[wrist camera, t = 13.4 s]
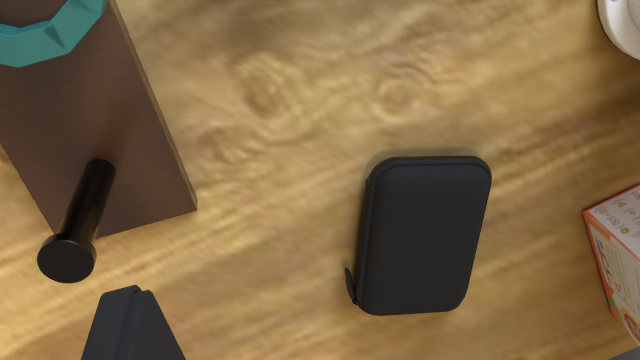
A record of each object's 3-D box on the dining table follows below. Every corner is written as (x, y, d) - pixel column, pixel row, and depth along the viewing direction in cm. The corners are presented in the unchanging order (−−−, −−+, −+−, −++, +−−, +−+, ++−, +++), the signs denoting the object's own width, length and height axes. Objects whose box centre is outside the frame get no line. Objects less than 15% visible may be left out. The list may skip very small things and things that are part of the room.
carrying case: (351, 149, 42) (337, 303, 50) (360, 168, 40) (344, 328, 47) (487, 147, 44) (455, 296, 51) (504, 165, 42) (467, 320, 49)
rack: (45, -169, 30) (-41, -181, 20) (197, 200, 43) (190, 305, 33) (-138, -118, 30) (-315, -106, 20) (67, 237, 42) (20, 353, 33)
